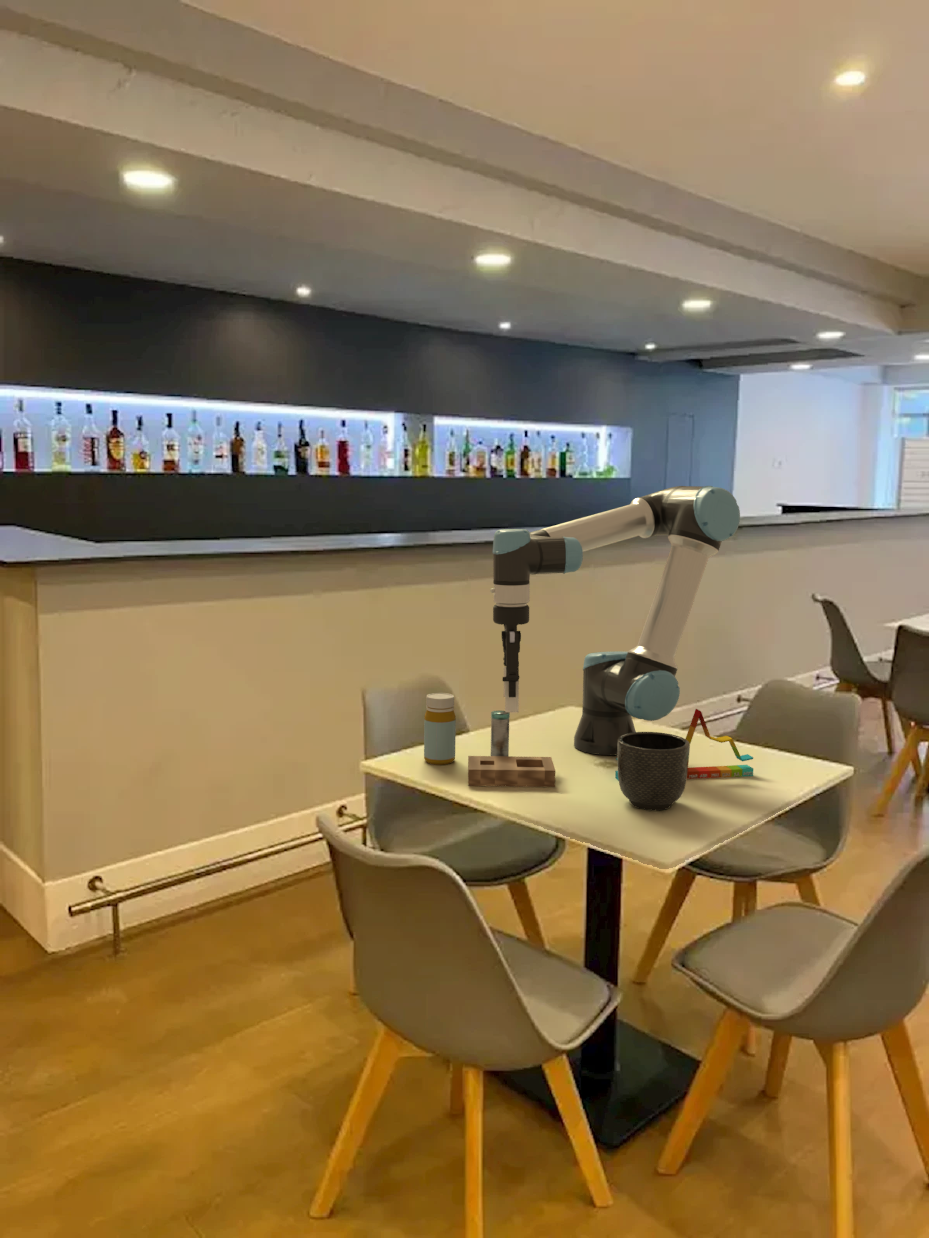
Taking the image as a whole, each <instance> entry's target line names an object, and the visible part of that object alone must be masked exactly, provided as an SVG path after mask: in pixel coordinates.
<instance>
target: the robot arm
mask: <svg viewBox="0 0 929 1238" xmlns="http://www.w3.org/2000/svg"><path fill="white" fill-rule="evenodd" d="M740 520H741V510H740V506H739V505H738V502H737V499H736V498H735V496H734V495H733V494H732V493H731V492H730V491H729V490H728V489H725V488H722V487H717V486H712V485H704V486H698V485H697V486H695V485H693V486H692V485H691V486H690V485H689V486H688V485H676V486H671V487H668V488H664V489H662V490H661V489H660V490H658V491H655V492H652V493H649V494H646V495H643V496H640V497H636V498H634V499H632V500H631V502H630V504H627V505H624V506H620V507H615V508H613V509H609V510H606V511H602V512H598V513H595V514H591V515H588V516H582V517H580V518H576V519H573V520H569V521H566V522H562V523H559V524H556V525H552V526H548V527H545V528H541V529H537V530H533V531H529V530H528V529H525V528H523V529H522V528H514V529H513V528H512V529H511V528H505V529H504V528H501V529H498V530H496V531H495V532H494V534H493V535H494V536H493V542H492V561H493V563H492V564H493V565H492V567H493V568H492V569H493V571H492V572H493V573H492V574H493V575H492V576H493V577H492V578H493V582H492V583H493V587H492V588H490V589H489V590H490V591H489V592H490V593H491V594H492V593H493V595H492V596H493V597H492V598H493V603H495V604H494V605H493V606H492V620H493V622H494V623H495V624H497V625H503V627H504V630H501V641H502V651H503V658H502V659H503V676H502V682H503V698H504V704H505V705H504V707H505V708H504V709H505V710H504V711H505V712H510V713H519V712H520V711H519V710H520V709H519V707H520V706H519V705H520V703H519V702H520V701H519V700H520V697H519V695H520V692H519V689H520V686H519V684H520V683H519V682H520V681H519V680H520V675H519V674H520V673H519V672H520V671H519V670H520V669H519V666H520V662H519V661H520V660H519V653H520V652H521V643H520V642H521V641H522V633H521V630H518V625H526V624H528V623H530V605H528V604H529V603H530V598H531V597H530V595H531V594H530V593H531V591H530V590H531V589H530V588H531V583H530V579H531V577H530V576H531V575H540V574H541V575H542V574H543V575H546V574H550V575H551V574H563V575H565V574H567V573H574V572H577V571H578V570H579V569H580V568H581V566H582V564H583V559H584V558H583V556H584V555H583V553H584V552H587V551H590V550H594V549H597V548H601V547H604V546H608V545H611V544H616V543H618V542H621V541H625V540H629V539H632V538H636V537H640V538H641V539H648V538H651V537H655V536H656V537H657V536H667V540H668V541H669V543H670V545H671V546H670V550H669V553H668V556H667V559H666V562H665V565H664V567H663V570H662V574H661V576H660V579H659V582H658V585H657V588H656V591H655V593H654V596H653V599H652V602H651V605H650V608H649V611H648V613H647V616H646V620H645V622H644V625H643V628H642V631H641V634H640V637H639V639H638V643H637V645H636V646H635V647H633V648H631V649H629V650H627V651H598V652H591V653H588V654H586V656H584V659H583V667H582V671H583V677H582V679H583V680H582V709H581V710H582V713H581V714H582V715H581V717H580V719H579V721H578V725H577V728H576V731H575V734H574V737H573V738H574V739H573V746H574V748H575V749H577V750H578V751H582V752H584V753H587V754H593V755H599V756H600V755H601V756H617V741H618V738H619V737H620V736H621V735H624V734H627V733H633V732H637V731H636V728H635V725H634V721H633V718H636V719H638V720H644V721H647V722H649V721H650V722H653V721H659V720H661V719H662V718H665V717H667V716H668V715H669V714H670V713H671V712H672V711H674V709H675V707H676V706H677V704H678V701H679V699H680V694H681V693H680V692H681V687H680V686H679V682H678V680H677V678H676V674H677V672H678V669H679V668H678V665H677V663H676V661H675V657H676V654H677V650H678V647H679V645H680V642H681V640H682V637H683V633H684V630H685V628H686V625H687V622H688V619H689V616H690V613H691V611H692V608H693V605H694V602H695V598H696V595H697V592H698V590H699V588H700V584H701V581H702V578H703V575H704V573H705V570H706V567H707V564H708V561H709V559H710V558H712V557H713V556H715V555H716V554H718V553H719V551H720V548H721V546H722V542H723V541H726V540H728V539H730V538H731V537H733V536H734V535H735V533H737V530H738V528H739V524H740Z"/></svg>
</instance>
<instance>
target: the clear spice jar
mask: <svg viewBox="0 0 929 1238" xmlns="http://www.w3.org/2000/svg"><path fill="white" fill-rule="evenodd" d="M510 713H511V712H505V710H492V711H491V712H490V721H491V722H490V756H509V754H510V752H509V749H510V747H509V746H510V744H509V743H510Z"/></svg>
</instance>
